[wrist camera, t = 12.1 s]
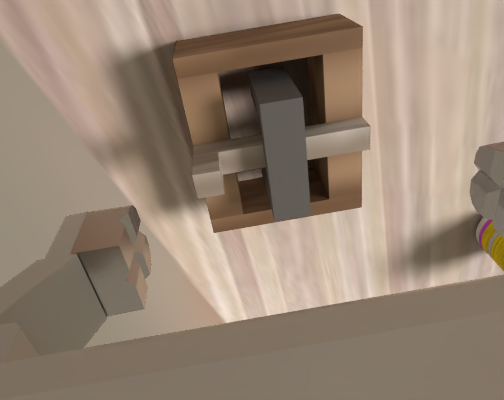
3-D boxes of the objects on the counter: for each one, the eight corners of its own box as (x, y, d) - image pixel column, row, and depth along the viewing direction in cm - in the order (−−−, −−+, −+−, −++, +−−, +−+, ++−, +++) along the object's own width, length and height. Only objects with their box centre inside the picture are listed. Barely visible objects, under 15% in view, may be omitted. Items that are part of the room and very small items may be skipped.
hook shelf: (176, 41, 35) (167, 78, 26) (339, 13, 35) (388, 41, 26) (212, 198, 44) (215, 269, 35) (343, 176, 44) (381, 239, 35)
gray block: (248, 72, 35) (259, 104, 28) (283, 66, 35) (302, 97, 29) (262, 174, 41) (274, 221, 34) (292, 169, 41) (311, 215, 34)
